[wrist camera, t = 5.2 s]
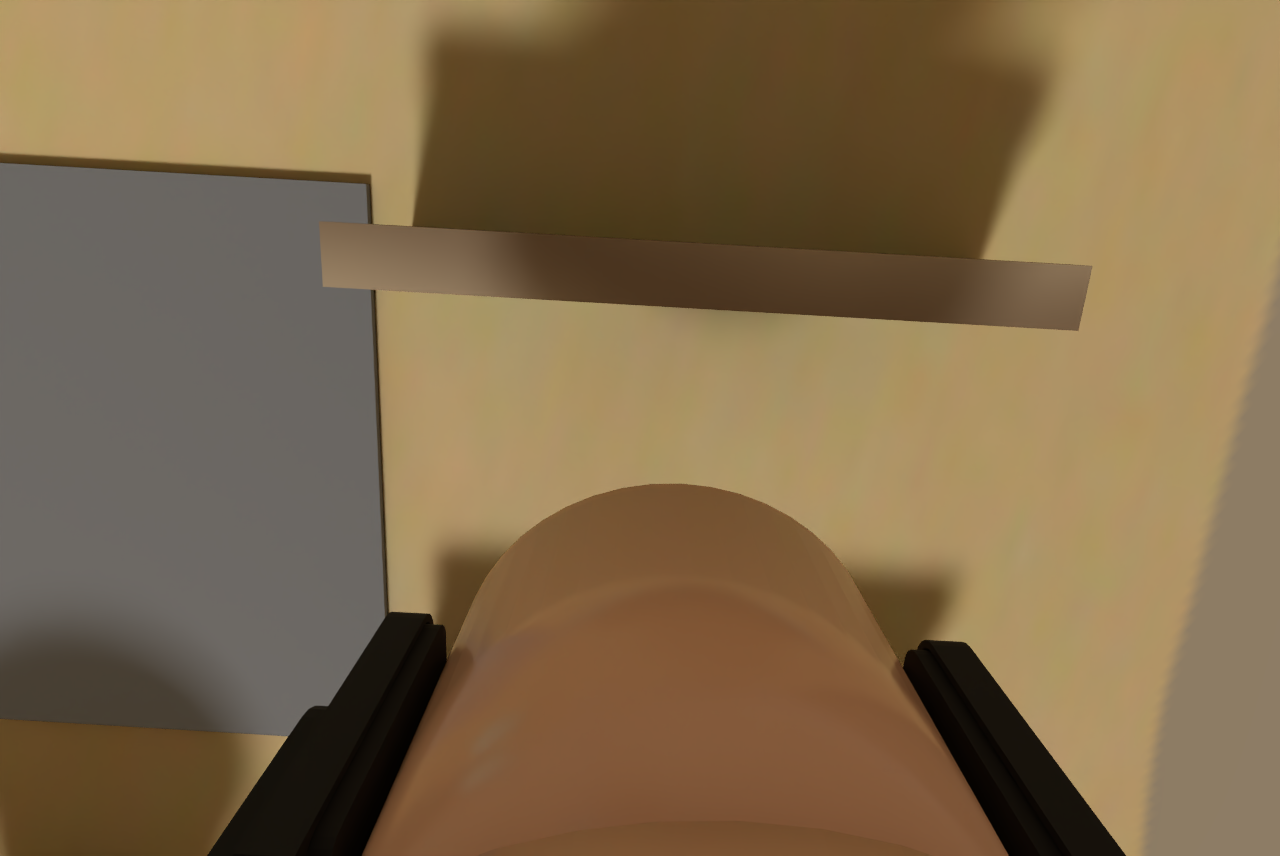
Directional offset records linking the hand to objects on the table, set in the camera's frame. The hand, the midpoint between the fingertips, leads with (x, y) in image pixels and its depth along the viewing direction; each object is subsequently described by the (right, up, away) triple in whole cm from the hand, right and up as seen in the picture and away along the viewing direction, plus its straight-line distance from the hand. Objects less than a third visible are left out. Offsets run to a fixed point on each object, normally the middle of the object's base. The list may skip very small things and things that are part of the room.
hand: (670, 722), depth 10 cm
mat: (-14, +3, +10) cm, 17 cm away
